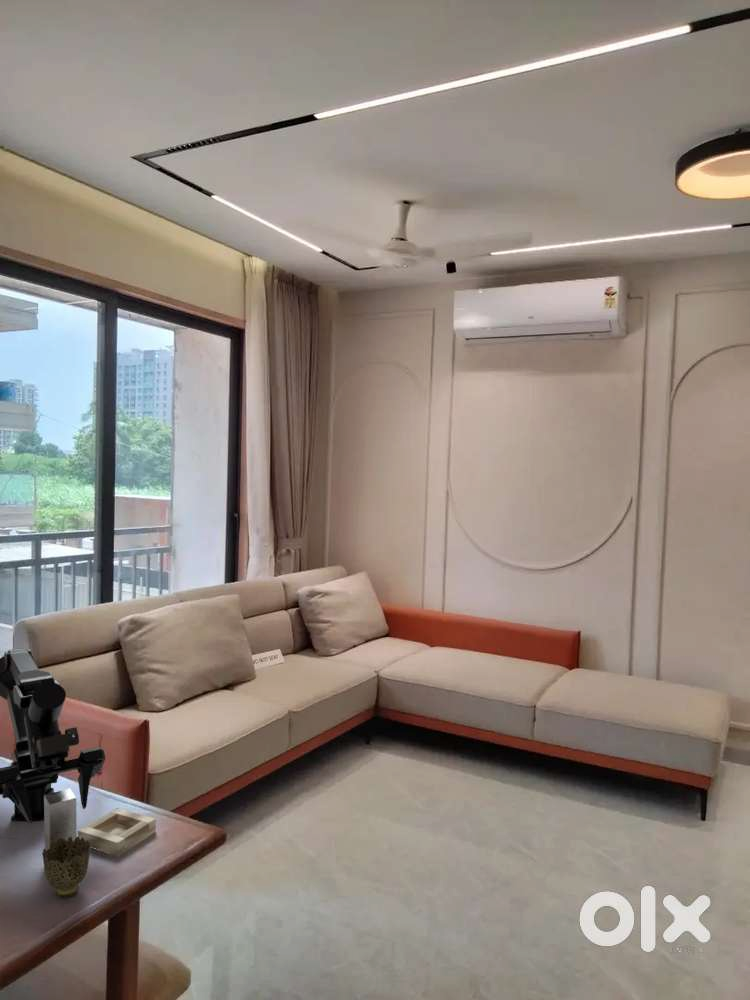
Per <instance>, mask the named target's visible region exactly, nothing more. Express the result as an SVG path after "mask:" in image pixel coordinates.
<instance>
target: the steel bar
mask: <svg viewBox="0 0 750 1000" xmlns="http://www.w3.org/2000/svg"><path fill="white" fill-rule="evenodd" d="M43 821H44V823H43V824H44V849H46V851H47V849H49V848H50V843H51V842H54V843H55V842H56V841H57V840H58V839H60V838H63V839H65V841H67V840H68V838H69V837H72V840H73V842H74V840H75V838H76V837H78V830H77V829H78V828H77V825H78V824H77V797H76V795H75V794H74V792H73V791H72V789H71V788H67V789H62V790H58V791H54V793H50V794H45V795H44V819H43Z"/></svg>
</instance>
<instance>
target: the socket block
mask: <svg viewBox="0 0 750 1000" xmlns="http://www.w3.org/2000/svg"><path fill="white" fill-rule="evenodd" d="M156 821H157V820H156V818H154V817H151V816H147V815H144V814H141V813H136V812H133V811H130V810H126V809H123V808H119V807H116V808H115V809H112V810H111V811H109V812H107V813H106V814H104V815H101V816H100V817H98V818H97V819H94V821H91V822H90V823H89V824H86V825H85V826H83V827H81V828H80V829H78V830H77V837H79V838H80V840H81V838H82V837H83V838H84V840H85V843H86V841H87V840H89V843H90V842H91V845H90V847H93V848H96V849H99V850H102V851H104V852H103V853H105V852H108V853H110V854H109V855H111V854H113V855H112V856H114V855H116V856H115V857H117V856H118V857H120V856H121V855H123V854H124V853H126V852H127V851H128V850H130V849H132V848H133V847H135V846H137V844H139V843H141V842H142V841H144V840H145V839H147V838H148V836H149V837H151V835H153V834H155V833H156V832H157V831H156V830H157V824H156V823H157V822H156ZM93 848H92V849H93ZM96 849H95V850H96ZM99 850H98V851H99ZM102 851H101V852H102ZM125 851H126V852H125ZM108 853H107V854H108ZM122 853H123V854H122ZM119 855H120V856H119Z"/></svg>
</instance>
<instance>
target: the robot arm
mask: <svg viewBox="0 0 750 1000" xmlns="http://www.w3.org/2000/svg"><path fill="white" fill-rule="evenodd" d="M0 697H2V698H3V699H4V700H6V702H7V707H8V710H9V715H10V720H11V724H12V728H13V733H14V737H15V743H16V744H15V748H14V750H13V757H12V762H10V764H9V765H8V766H4V767H0V796H2V797H1V798H2V799H7V798H8V799H9V800H10V801H11V802H12V803H13V804H14V806H13V807H14V809H13V810H14V814H13V815H12V816H10V821H27V823H28V824H31V823H32V821H44V795H45V794H50V793H54V792H55V789H54V787H52V784H57V783H58V779H59V774H62V773H65V772H70V771H74V770H77V772H78V774H79V775H78V778H77V782H78V788H79V795H80V804H81V807H82V809H83V810H85V809H86V808H87V804H88V796H89V788H90V784H91V783H90V782H91V778H94V777H95V776H96V774H97V773H98V772H100V771H102V768H103V766H104V763H105V761H106V759H107V758H106V753H105V750H104V749H103V748H101V747H100V746H98V747H93V748H88V749H83V750H80V753H79V755H78V757H77V758H73V759H69V760H66V758H68V757H69V752H70V747H74V746H77V745H79V743H80V737H79V736H80V735H79V732H78V731H79V730H78V728H77V726H75V727H71V728H70V727H68V728H66V729H65V730H64V733H62V732H61V730H60V725H59V720H58V719H59V718H60V716H61V712H62V710H63V708H64V703H65V701H66V698H67V692H66V690H65V688H64V687H62V686H61V684H60V683H59V682H58V681H57V679H55V678H54V676H53V675H52V674H51V673H50V672H49V671H45V670H40V669H39V667H38V665H37V664H36V662H35V658H34V656H33V655H32V651H31V648H27V647H24V648H16V649H10V650H7V651H4V654H3V656H2V657H0Z"/></svg>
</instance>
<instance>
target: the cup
mask: <svg viewBox="0 0 750 1000" xmlns="http://www.w3.org/2000/svg"><path fill="white" fill-rule="evenodd" d="M90 845H91V842H90V843H89V840H87V841H86V843H85V840H84V838H83V837H82V838H81V840H80V838H79V837H78V836H77V837H76V838H75V840H74V842H73V840H72V837H69V838H68V840H67V841H65V839H63V838H60V839H58V840H57V841H56V842H55V843H54V842H51V843H50V848H49V849H47V851H46V849H45V848H42V852H41V854H42V860H43V861H42V862H43V867H44V874H45V878H46V881H47V883H48V884H49V886H50V887H51V888H52V889H54V890H55V891H54V892H55V895H56V896H57V897H58V898H61V899H63V898H64V899H65V898H67V899H68V898H70V897H73V896H74V895H76V893H78V891H79V888H80V884H81V883H82V882H83V881H84V879H85V877H86V876H87V872H88V869H89V862H90V861H89V860H90V851H91V848H90Z"/></svg>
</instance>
